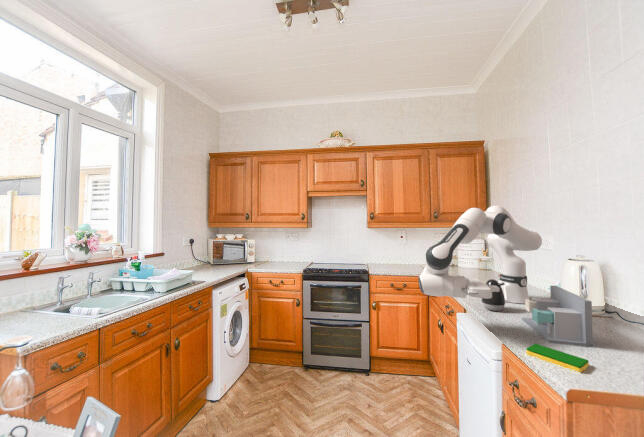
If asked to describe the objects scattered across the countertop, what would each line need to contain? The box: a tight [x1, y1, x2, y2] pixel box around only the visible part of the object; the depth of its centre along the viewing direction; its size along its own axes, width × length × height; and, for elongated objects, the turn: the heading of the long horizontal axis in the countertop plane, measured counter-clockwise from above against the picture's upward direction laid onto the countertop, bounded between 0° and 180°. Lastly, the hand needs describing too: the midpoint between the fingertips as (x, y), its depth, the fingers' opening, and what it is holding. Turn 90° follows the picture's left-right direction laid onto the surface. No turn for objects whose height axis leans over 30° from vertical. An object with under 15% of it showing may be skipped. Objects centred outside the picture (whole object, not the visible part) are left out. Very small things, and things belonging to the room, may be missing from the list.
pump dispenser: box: [481, 278, 506, 312], centre depth 137 cm, size 10×10×15 cm
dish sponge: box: [525, 343, 590, 373], centre depth 88 cm, size 7×14×2 cm, turn 31°
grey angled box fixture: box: [521, 285, 597, 348], centre depth 109 cm, size 14×24×16 cm, turn 163°
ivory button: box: [524, 298, 537, 313], centre depth 117 cm, size 8×4×4 cm, turn 73°
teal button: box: [531, 308, 554, 324], centre depth 104 cm, size 8×4×4 cm, turn 73°
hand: (498, 288), depth 109 cm, fingers closed
